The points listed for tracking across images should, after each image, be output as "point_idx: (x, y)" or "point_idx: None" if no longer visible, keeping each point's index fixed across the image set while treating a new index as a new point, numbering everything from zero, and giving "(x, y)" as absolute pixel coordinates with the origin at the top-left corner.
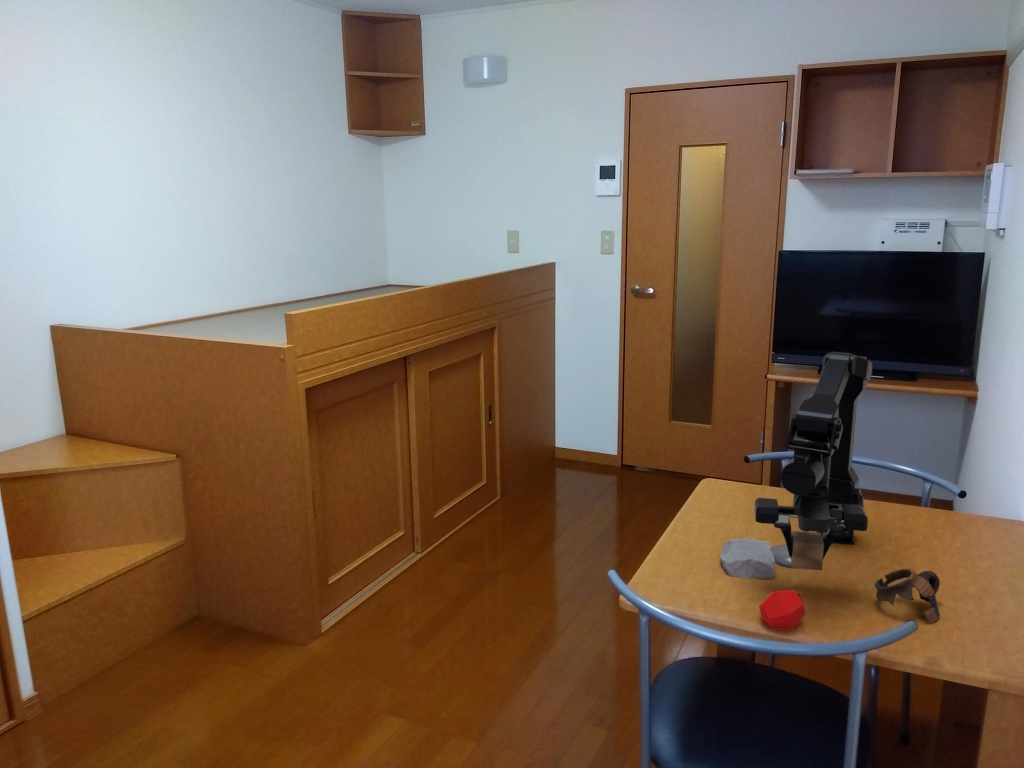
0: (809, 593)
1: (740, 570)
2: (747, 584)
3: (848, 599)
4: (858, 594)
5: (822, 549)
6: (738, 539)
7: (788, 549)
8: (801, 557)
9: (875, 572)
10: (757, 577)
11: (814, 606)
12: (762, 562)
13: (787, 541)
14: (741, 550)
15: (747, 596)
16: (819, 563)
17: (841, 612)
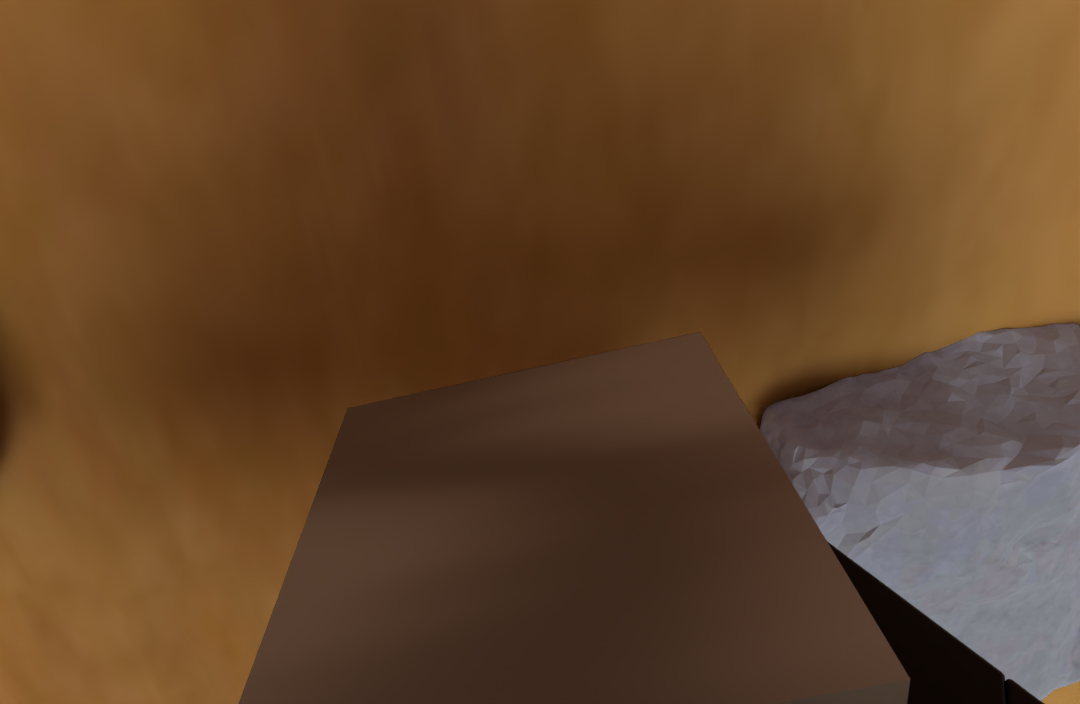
0: (488, 305)
1: (1047, 367)
2: (968, 245)
3: (199, 336)
4: (165, 434)
5: (266, 679)
6: (1036, 697)
7: (844, 564)
8: (626, 453)
9: (183, 695)
10: (878, 376)
11: (409, 93)
12: (922, 466)
13: (975, 689)
14: (1049, 583)
15: (1007, 16)
16: (363, 459)
17: (166, 83)
